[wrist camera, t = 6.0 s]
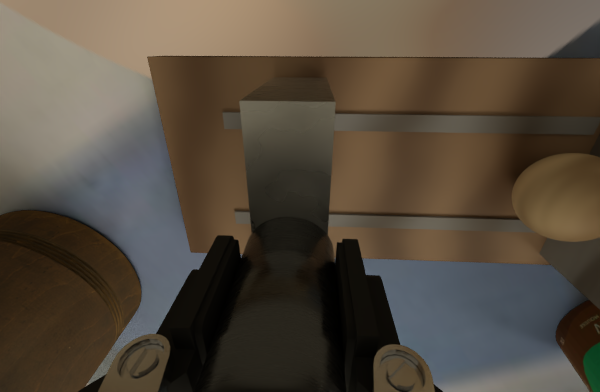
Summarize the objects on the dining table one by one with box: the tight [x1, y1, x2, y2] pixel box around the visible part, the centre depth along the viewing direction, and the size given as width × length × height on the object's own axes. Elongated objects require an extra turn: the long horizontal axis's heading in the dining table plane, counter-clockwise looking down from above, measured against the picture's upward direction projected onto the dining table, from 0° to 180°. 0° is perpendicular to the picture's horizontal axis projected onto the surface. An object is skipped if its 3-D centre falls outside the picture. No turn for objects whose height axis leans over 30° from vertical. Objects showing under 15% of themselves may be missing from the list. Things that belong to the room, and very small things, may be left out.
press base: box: [147, 56, 600, 309], centre depth 16 cm, size 32×14×10 cm, turn 90°
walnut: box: [512, 153, 600, 242], centre depth 16 cm, size 5×5×5 cm
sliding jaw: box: [194, 77, 347, 392], centre depth 12 cm, size 4×12×14 cm, turn 0°
